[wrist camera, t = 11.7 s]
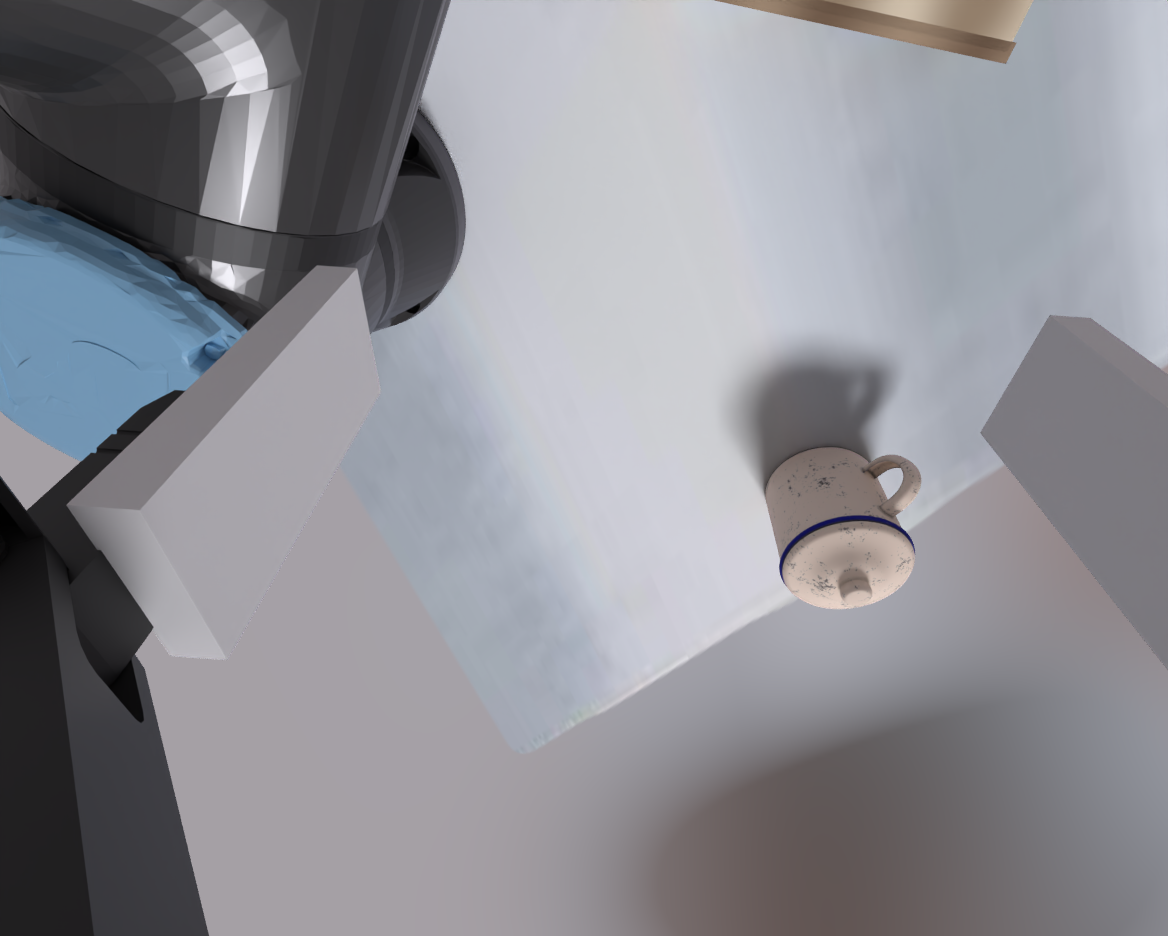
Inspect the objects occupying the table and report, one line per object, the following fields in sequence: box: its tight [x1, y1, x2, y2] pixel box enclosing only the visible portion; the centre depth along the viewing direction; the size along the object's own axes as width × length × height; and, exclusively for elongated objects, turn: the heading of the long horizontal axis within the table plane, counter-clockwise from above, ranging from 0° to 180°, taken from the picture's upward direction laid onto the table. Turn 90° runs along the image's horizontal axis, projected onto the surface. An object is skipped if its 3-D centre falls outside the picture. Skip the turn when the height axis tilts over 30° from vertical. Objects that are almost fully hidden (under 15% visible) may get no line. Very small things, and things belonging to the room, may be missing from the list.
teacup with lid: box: [765, 447, 921, 609], centre depth 44 cm, size 12×9×12 cm
